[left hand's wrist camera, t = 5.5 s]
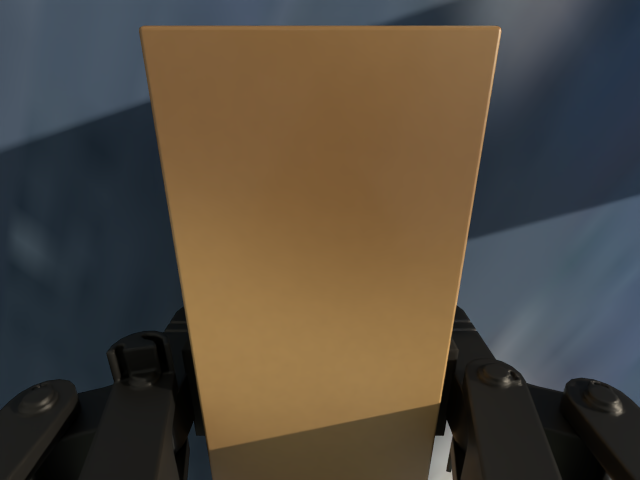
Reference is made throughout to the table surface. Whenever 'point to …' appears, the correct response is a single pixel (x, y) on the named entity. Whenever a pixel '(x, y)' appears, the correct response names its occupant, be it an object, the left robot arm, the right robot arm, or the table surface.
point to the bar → (320, 233)
